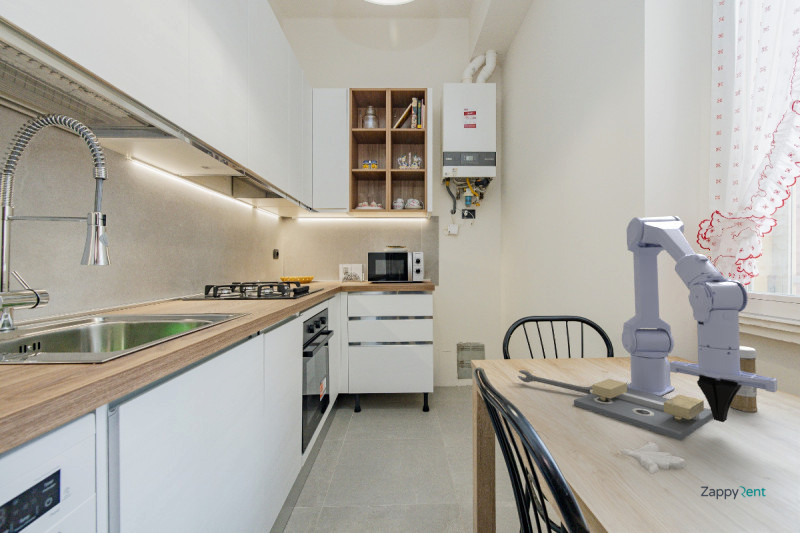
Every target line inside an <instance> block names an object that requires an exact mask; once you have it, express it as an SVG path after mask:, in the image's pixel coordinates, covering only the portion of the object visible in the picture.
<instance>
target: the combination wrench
mask: <svg viewBox="0 0 800 533" xmlns="http://www.w3.org/2000/svg"><path fill="white" fill-rule="evenodd" d="M518 372H519V374H522V375H524V376H525V377H524V376H521V375H517V377H518V378H519V380H521V381H523V382H524V383H531V382H537V383H541V384H546V385H548V386H549V385H550V386H553V387H558V388H562V389H565V390H569V391H570V390H571V391H575V392H578V393H583V394H585V395H588V394H591V393H592V386H591V385H590V386H581V385H576V384H572V383H567V382H562V381H557V380H553V379H550V378H544V377H539V376H536V375H533V374H532V373H531V372H529V371H528V370H522V369H521V370H519V371H518Z"/></svg>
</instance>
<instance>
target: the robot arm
mask: <svg viewBox="0 0 800 533" xmlns="http://www.w3.org/2000/svg"><path fill="white" fill-rule="evenodd" d="M684 231H685V225H684V222H683V221H682V219H681V218H680V217H679V216H677V215H671V216H655V217H654V216H653V217H650V216H649V217H648V216H647V217H633V218H632V219H631V220H630V221H629V223H628V225H627V227H626V246H627V251H629V252H632V255H633V257H632V259H633V283H634V284H633V285H634V309H635V312H634V313H635V315H634V316H632V317H630V318H629V319H627V321H625V322H623V327H622V328H623V330H622V334H621V342H622V346H623V348H624V350H625V351H626V352H627V353H629V355H630V383H627V388H628V389H632V390H636V391H640V392H644V393H648V394H652V395H656V396H660V397H663V396H664V395H665V394H668V393H669V392H672V391H674V390H676V387H675V386H671V373H674V374H678V373H679V374H684V375H689V376H694V377H698V380H696V383H697V386H698V387H699V389H700V390H701V392H702V393H703V395H704V398H705V399H706V401H707V403H708V406H709V409H711V411H712V415H713V418H712V419H713V420H714V421H717V422H722V423H725V422H726V421H727V420H728V415H729V414H728V413H729V411H730V407H731V406H730V405H731V403H732V401H733V399H734V397H735V395H736V394H737V392H738V390H739V389H740V388H741V386H742V385H744V386H750V387H755V388H757V389H761V390H765V391H766V392H771V393H775V392H777V391H778V379H777V378H773V377H769V376H764V375H759V374H757V373H756V374H752V373H748V372H743V371H740V346H741V345H740V319H739V318H740V317H739V316H740V315H739V313H741V312H742V311H744V310H745V309H746V307H747V305H748V301H749V296H748V292H747V290H746V288H745V286H743V283H742V282H740V281H738V280H732V279H731V278H729V277H724V275H723V274H722V273H721V272H720V271H719V269H718V268H717V267H716V266H715V264H713V263H712V261H711V260H710V259H709V258H708V257H707V255H705V254H700V253H696V252H695V251H694V249H693V247H692V246H691V244H690V243H689V242H688V240H687V238H686V237H685V236H684ZM662 251H665V252H666V253H667V254H668V255H669V256H670V257H671V258H672V259H673V260H674V261H675V262H676V264H675V265H674V271H675V272H676V274H677V276H678V277H679V278H680V280H681V281H682V283H683V284H684V285H685V286H686V288H687V289H688V290H689V294H688V301H689V305H690V307H691V309H692V315H693V316H692V317H693V319H694V320H695V321H696V325H697V326H696V328H697V330H696V333H697V363H693V362H692V363H691V362H685V361H684V362H683V361H676V360H673V361H669V359H668V358H669V354H671V353H672V351H673V350H674V348H675V340H674V337H673V334H672V328H671V325H670V324H669V323H668V322H666V321H665V320H663V319H662V318H661V317H660V304H659V303H660V302H659V301H660V299H659V274H658V270H659V268H658V255H659V254H660V253H661V252H662ZM667 357H668V358H667Z"/></svg>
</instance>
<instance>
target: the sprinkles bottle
mask: <svg viewBox="0 0 800 533" xmlns="http://www.w3.org/2000/svg"><path fill="white" fill-rule="evenodd" d="M756 360H757V350H756V348H754V347H749V346H744V345H743V346H742V345H740V371H743V372H748V373H752V374H756V375H757V369H756ZM757 390H758V388H755V387H750V386H744V385H742V386H741V388H740V389H739V390H738V392H737V394H736V395H735V397H734V399H733V401H732V403H731V405H730V407H731V408H732V409H735V410H738V411H743V412H748V413H749V412H750V413H754V412H755V413H756V412H757V411H758V406H757V404H758V403H757V396H758V392H757Z"/></svg>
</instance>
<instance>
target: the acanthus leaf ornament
mask: <svg viewBox="0 0 800 533" xmlns="http://www.w3.org/2000/svg"><path fill="white" fill-rule="evenodd" d="M621 454H623V455H627V456H631V457H633V458H636V459H637V460H638V461H639V462H640V466H642V467H645V469H647V470H648V472H649V474H651V475H654V474H655V473H658V472H659V468H661V469H663V470H668V469H669V468H673V469H683V468H684V466H685V463H686V460H685V459H684V458H682V457H679V456H676V455H671V453H670V452H665V451H662V452H661V451H660V448H659V446H658V445H657V444H656V443H654V442H652V441H651V442H649V441H648V442H647V444H646V443H645V444H644V445H643V446H642V447H641V448H638V449H636V450H630V449H628V448H623V449H622V450H621Z"/></svg>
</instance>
